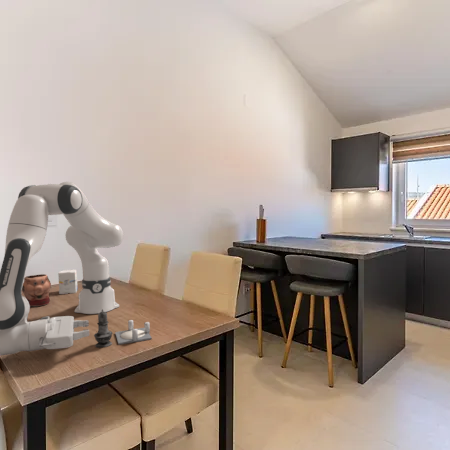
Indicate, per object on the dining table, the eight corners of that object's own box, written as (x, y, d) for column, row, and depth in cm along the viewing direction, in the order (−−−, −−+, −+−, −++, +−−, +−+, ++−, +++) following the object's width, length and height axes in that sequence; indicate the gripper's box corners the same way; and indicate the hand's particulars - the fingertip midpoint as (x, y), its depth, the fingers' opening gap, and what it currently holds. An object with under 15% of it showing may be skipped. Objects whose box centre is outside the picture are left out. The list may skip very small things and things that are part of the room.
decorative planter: (18, 302, 167) (16, 274, 167) (45, 297, 176) (44, 270, 175) (28, 310, 153) (26, 280, 152) (57, 305, 161) (56, 276, 160)
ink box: (61, 290, 189) (60, 270, 188) (77, 289, 192) (77, 269, 191) (58, 294, 181) (57, 272, 180) (76, 293, 183) (75, 271, 183)
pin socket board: (115, 333, 123) (114, 322, 123) (146, 328, 128) (146, 317, 128) (118, 345, 112) (118, 333, 112) (153, 339, 117) (152, 327, 117)
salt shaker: (115, 340, 116) (113, 306, 116) (109, 347, 110) (108, 311, 110) (97, 341, 116) (96, 306, 116) (91, 348, 110) (90, 312, 110)
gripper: (37, 336, 96) (89, 328, 102) (44, 315, 115) (87, 309, 120) (38, 357, 97) (90, 349, 102) (45, 333, 115) (88, 327, 121)
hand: (89, 327), depth 111 cm, fingers open, 8 cm apart
